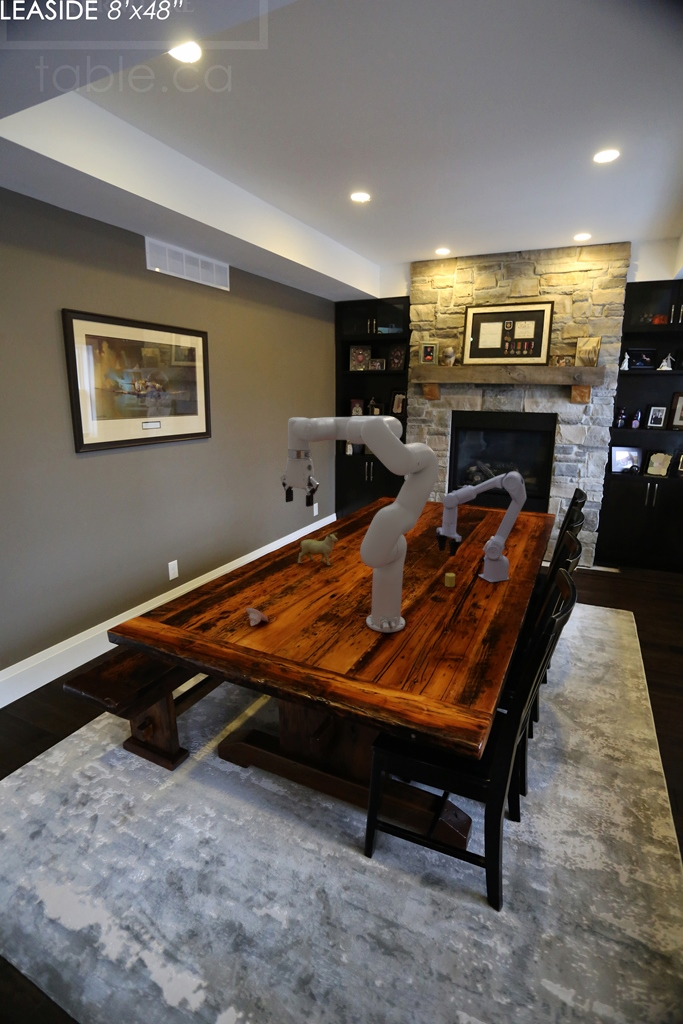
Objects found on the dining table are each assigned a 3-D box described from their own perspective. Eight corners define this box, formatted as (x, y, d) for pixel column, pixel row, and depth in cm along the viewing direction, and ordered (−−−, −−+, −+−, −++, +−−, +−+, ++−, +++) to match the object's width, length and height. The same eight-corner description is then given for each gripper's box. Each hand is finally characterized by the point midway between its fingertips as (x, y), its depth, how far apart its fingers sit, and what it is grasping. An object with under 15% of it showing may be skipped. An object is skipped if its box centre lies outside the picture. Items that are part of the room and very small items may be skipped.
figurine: (481, 562, 222) (483, 536, 219) (482, 556, 230) (484, 531, 227) (499, 564, 220) (501, 538, 217) (499, 558, 228) (501, 533, 225)
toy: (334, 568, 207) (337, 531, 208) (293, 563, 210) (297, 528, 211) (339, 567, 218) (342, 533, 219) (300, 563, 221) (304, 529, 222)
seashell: (251, 634, 162) (235, 615, 161) (262, 623, 165) (246, 604, 164) (262, 630, 156) (245, 610, 155) (273, 618, 159) (257, 599, 158)
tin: (442, 585, 196) (443, 574, 195) (448, 582, 198) (449, 572, 197) (450, 588, 193) (451, 577, 192) (456, 585, 196) (457, 574, 195)
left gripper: (325, 456, 166) (325, 506, 171) (289, 451, 177) (289, 498, 181) (310, 458, 161) (310, 509, 165) (273, 453, 171) (274, 501, 176)
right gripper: (431, 518, 211) (429, 549, 215) (452, 527, 199) (449, 559, 202) (445, 517, 214) (443, 547, 217) (466, 525, 201) (463, 557, 205)
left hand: (299, 503), depth 173 cm, fingers open, 9 cm apart
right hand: (447, 553), depth 210 cm, fingers open, 7 cm apart
